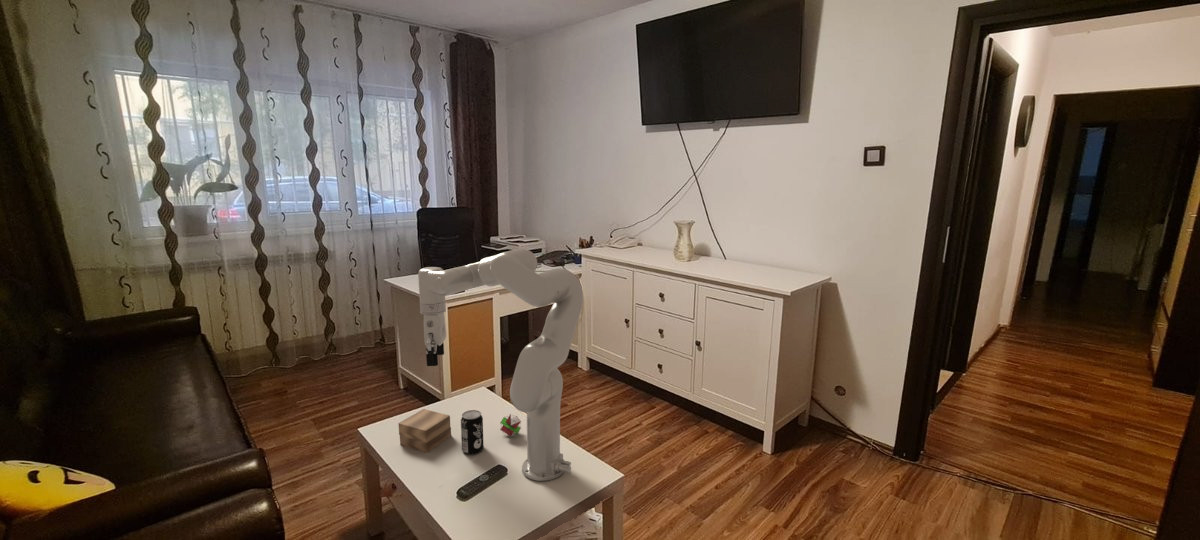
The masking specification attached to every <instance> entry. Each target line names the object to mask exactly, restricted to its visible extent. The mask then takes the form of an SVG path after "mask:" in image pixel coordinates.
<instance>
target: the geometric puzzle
mask: <svg viewBox="0 0 1200 540" xmlns="http://www.w3.org/2000/svg"><path fill="white" fill-rule="evenodd" d="M499 424H500V431H501V432H502V434H505V435H507V436H513V435H514V436H517V435H519V433H520V430H521V429H522V427H521V426H520V425H522V420H521V419H520V418H519V417H518V416H517V415H514V414H511V413H509V416H508V415H507V416H504V417H503V418H502V419H501V420H500V422H499Z"/></svg>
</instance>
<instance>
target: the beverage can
mask: <svg viewBox="0 0 1200 540" xmlns="http://www.w3.org/2000/svg"><path fill="white" fill-rule="evenodd" d="M482 415H483V414H482V412H481V411H480V410H477V409H472V410H469V409H468V410H466V411H464V412H463V413H462V415H461V418H460V430H461V431H460V432H461V433H460V434H461V435H460V437H461V438H460V440H461V451H462V452H463V453H464V454H466V455H469V456H470V455H471V456H473V455H476V454H479V453H481V452H482V451H483V449H484V421H483V420H484V419H483V418H484V417H483V416H482Z"/></svg>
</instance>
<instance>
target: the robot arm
mask: <svg viewBox="0 0 1200 540" xmlns="http://www.w3.org/2000/svg"><path fill="white" fill-rule="evenodd" d="M537 267H538V259H537V257H536V255H535V254H534V253H533V252H532V251H531V250H529V249H526V248H516V249H512V250H508V251H503V252H501V253H498V254H493V255H491V256H486V257H484V258H481V259H480V261H477V262H473V263H469V264H467V265H466V264H465V265H462V266H457V267H453V268H449V269H445V270H444V269H443V268H442V267H440V266H439V267H438V266H426V267H423V268H420V269H419V270H418V274H417V275H418V292H419V293H418V294H419V295H418V296H419V313H420V314H421V315H423V338H424V339H423V340H424V345H425V346H426V348H425V350H426V351H425V352H426V354H425V356H426V366H427V367H436V366H437V367H438V365H439V361H438V360H439V359H438V357H439V356H444V355H445V347H444V346H445V345H444V342H445V340H446V338H447V328H446V316H445V313H446V312H447V307H446V297H447V296H452V295H454V294H458V293H461V292H464V291H468V290H472V289H475V288H479V287H484V286H487V287H495V286H499V285H500V286H501V287H503V288H504V289H506V291H508V292H510V293H511V294H513V295H515V296H516V297H518V298H519V299H520V300H522V301H523V302H525V303H526V304H527V305H531V306H533V307H536V308H537V307H538V308H542V307H543V308H544V307H547V306H549V305H551V304H552V306H551V308H550V309H549V312H548V313H547V316H546V318H545V323H544V326H543V328H542V332H541V334H540V336H539V337H537V338H536V339H535V340H533V341H531V342H530V343H528V344H527V345H525V346H524V348H523V349H522V350H521V352H520V353H519V356H518V359H517V362H516V365H515V369H514V373H513V376H512V380H511V385H510V389H509V398H510V401H511V404H512V405H513V407H514V408H515V409H516V410H518V411H520V412H521V413H526V445H527V446H526V450H527V451H526V453H527V454H526V455H527V459H525V460H524V461H523V463H522V465H521V472H522V474H523V475H524V476H525V477H526V478H528V479H529V480H533V481H536V482H537V481H539V482H543V481H544V482H545V481H546V482H547V481H551V480H554V479H557V478H558V477H560V476H562V475H563V473H565V474H570V473H571V471H572V467H571V466H572V462H571V461H568V460H565V459H564V453H561V402H562V394H563V389H564V387H563V385H564V378H563V376H562V373H561V371H560V369H558V368H559V367H561V366H562V365H563V364H564V363H565V361H567V359H568V356H569V352H570V349H571V346H572V342H573V339H574V336H575V333H576V328H577V324H578V321H579V319H580V316H581V312H582V308H583V303H584V293H583V288H582V285H581V283H580V280H579V279H578V278H577V277H576V275H575V273H573V272H572V271H570V270H568V269H565V268H553V269H549V270H546V271H543V272H540V273H537V272H536V271H537Z"/></svg>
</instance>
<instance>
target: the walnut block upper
mask: <svg viewBox="0 0 1200 540" xmlns="http://www.w3.org/2000/svg"><path fill="white" fill-rule="evenodd" d="M450 427H451V416H450V415H449V414H445V413H441V412H437V411H433V410H430V409H425V408H423V409H421V410H419V411H417V412H416V413H414V414H412V415H410V416H408V417H407V418H405V419H404V420H401V421H400V422H398V435H399V436H400V435H401V436H404V437H408V438H411V439H415V440H418V441H422V442H425V443H427V442H428V441H430V440H431V439H433V438H434V437H436V436H437V435H439V434H440V433H442V432H444V431H445V430H447V429H448V428H450Z"/></svg>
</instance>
